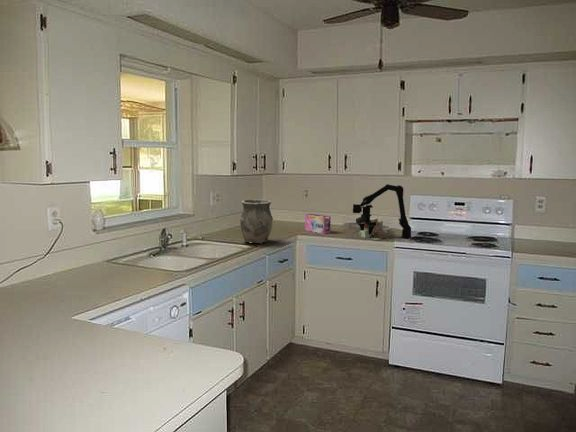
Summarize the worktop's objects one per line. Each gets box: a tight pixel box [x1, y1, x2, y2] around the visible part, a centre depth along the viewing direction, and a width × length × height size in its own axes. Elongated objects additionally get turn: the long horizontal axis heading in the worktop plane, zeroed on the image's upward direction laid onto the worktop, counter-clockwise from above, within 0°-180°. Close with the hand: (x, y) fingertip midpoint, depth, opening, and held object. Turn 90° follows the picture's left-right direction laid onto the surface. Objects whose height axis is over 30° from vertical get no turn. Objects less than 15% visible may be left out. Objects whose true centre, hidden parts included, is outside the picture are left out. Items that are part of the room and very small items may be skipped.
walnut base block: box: [373, 231, 390, 239], centre depth 359 cm, size 8×8×4 cm
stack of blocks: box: [364, 217, 384, 237], centre depth 377 cm, size 21×6×12 cm, turn 143°
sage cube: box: [360, 229, 372, 239], centre depth 361 cm, size 5×5×5 cm
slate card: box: [369, 237, 384, 242], centre depth 350 cm, size 7×7×1 cm
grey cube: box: [382, 227, 392, 236], centre depth 370 cm, size 5×5×5 cm
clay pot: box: [239, 198, 274, 244], centre depth 338 cm, size 22×23×30 cm
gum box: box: [304, 213, 332, 235], centre depth 383 cm, size 24×8×14 cm, turn 40°
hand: (365, 233), depth 361 cm, fingers open, 9 cm apart
